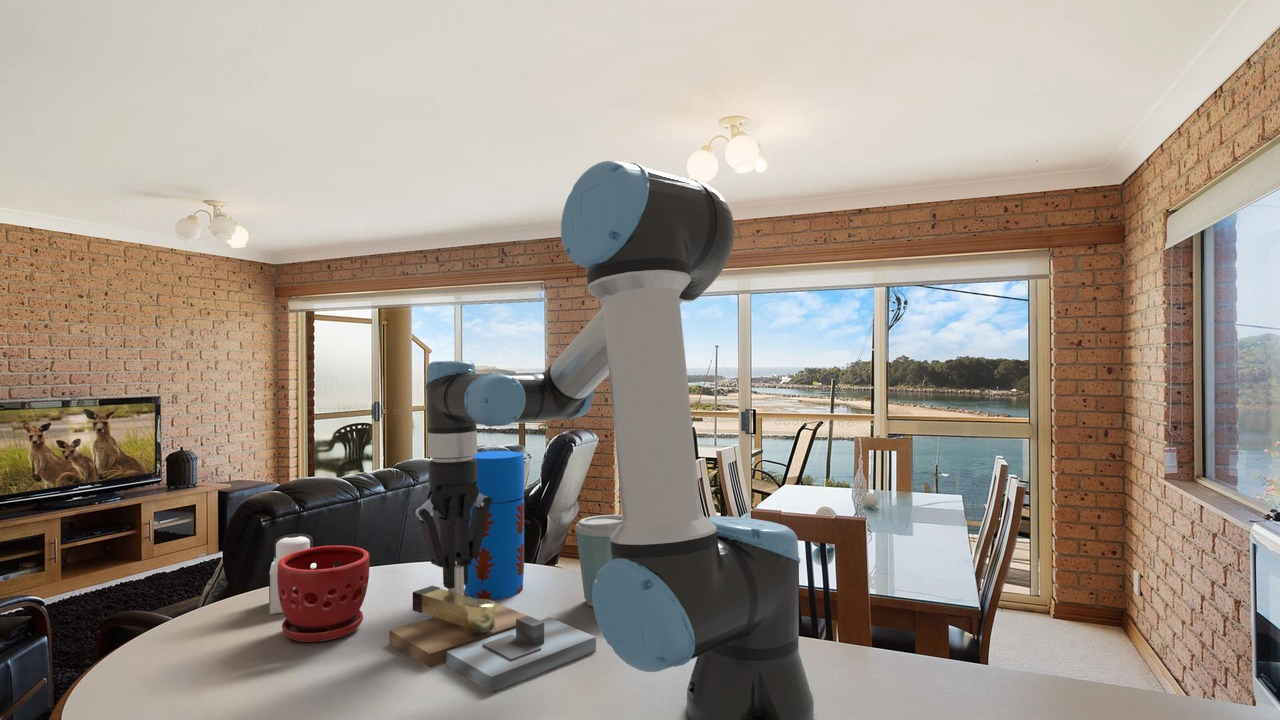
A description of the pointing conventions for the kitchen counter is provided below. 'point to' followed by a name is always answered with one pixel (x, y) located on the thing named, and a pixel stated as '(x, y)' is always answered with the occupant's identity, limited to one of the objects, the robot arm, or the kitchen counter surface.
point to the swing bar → (456, 608)
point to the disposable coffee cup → (594, 547)
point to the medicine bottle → (281, 549)
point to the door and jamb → (494, 647)
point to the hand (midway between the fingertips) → (456, 606)
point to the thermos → (499, 527)
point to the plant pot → (322, 592)
